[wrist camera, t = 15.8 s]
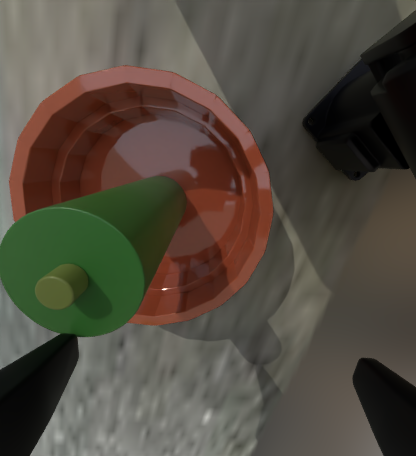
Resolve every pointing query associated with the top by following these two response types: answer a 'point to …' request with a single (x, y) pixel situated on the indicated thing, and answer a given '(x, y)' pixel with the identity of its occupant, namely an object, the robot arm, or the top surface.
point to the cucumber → (91, 255)
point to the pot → (155, 166)
